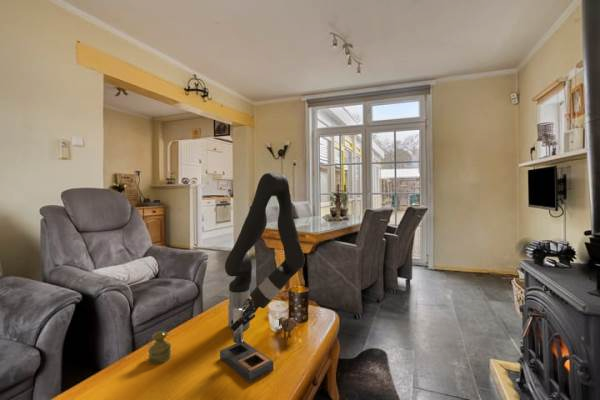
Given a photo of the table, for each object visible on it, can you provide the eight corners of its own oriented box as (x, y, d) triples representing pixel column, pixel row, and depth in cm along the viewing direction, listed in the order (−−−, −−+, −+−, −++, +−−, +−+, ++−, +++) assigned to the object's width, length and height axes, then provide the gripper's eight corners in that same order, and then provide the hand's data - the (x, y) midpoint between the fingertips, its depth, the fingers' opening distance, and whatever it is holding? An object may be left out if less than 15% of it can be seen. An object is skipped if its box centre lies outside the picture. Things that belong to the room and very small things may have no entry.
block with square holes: (220, 358, 106) (220, 349, 106) (242, 348, 113) (242, 339, 113) (249, 382, 92) (249, 372, 92) (273, 369, 99) (273, 360, 99)
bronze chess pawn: (155, 352, 109) (155, 327, 109) (174, 353, 109) (174, 327, 109) (144, 364, 102) (143, 336, 102) (164, 364, 102) (164, 337, 101)
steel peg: (231, 340, 106) (231, 308, 106) (239, 337, 109) (239, 306, 108) (236, 344, 104) (236, 311, 103) (244, 340, 106) (244, 309, 106)
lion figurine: (299, 339, 120) (299, 318, 120) (288, 343, 117) (288, 321, 116) (281, 325, 132) (281, 306, 132) (270, 328, 129) (271, 309, 128)
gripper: (257, 279, 114) (225, 312, 112) (260, 292, 100) (224, 329, 98) (270, 291, 115) (239, 324, 113) (275, 306, 102) (240, 343, 99)
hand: (232, 326), depth 106 cm, fingers closed on steel peg, 3 cm apart
